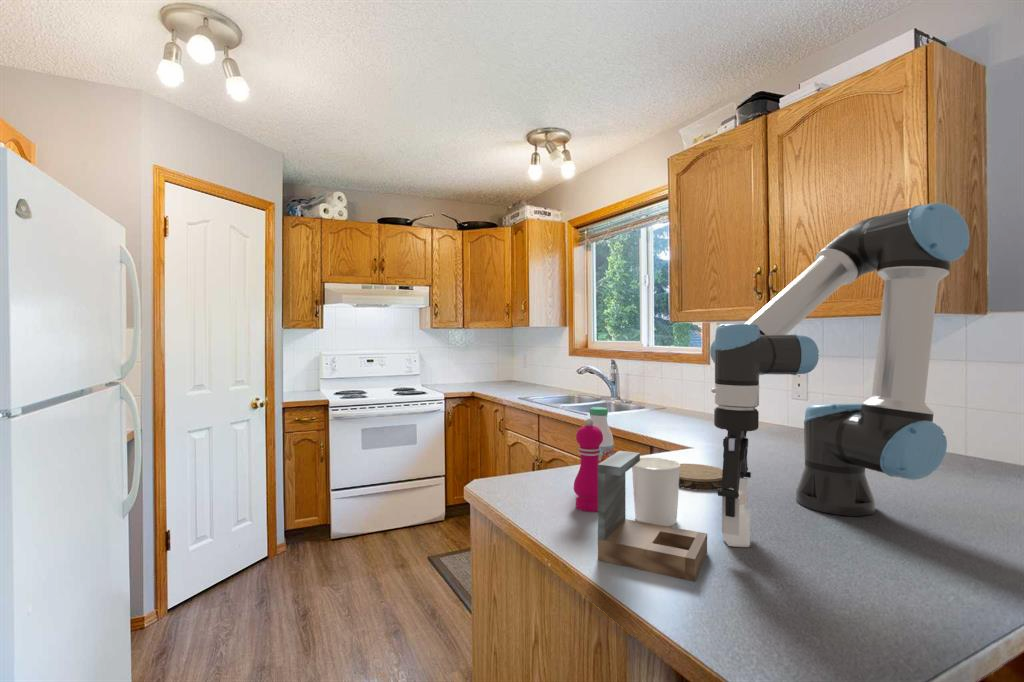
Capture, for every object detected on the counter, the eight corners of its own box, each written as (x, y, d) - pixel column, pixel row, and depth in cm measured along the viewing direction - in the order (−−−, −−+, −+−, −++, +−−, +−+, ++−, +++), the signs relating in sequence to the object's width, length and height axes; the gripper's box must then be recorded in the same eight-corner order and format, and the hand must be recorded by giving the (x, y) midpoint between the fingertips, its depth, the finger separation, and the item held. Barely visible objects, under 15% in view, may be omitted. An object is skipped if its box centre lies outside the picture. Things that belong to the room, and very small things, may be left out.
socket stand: (707, 553, 91) (707, 460, 91) (695, 581, 81) (695, 476, 80) (619, 536, 99) (619, 450, 99) (597, 559, 88) (597, 464, 88)
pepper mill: (605, 513, 111) (605, 421, 111) (572, 511, 113) (572, 420, 113) (606, 502, 118) (606, 416, 118) (574, 501, 120) (574, 415, 120)
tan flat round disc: (663, 488, 131) (663, 476, 131) (663, 472, 146) (663, 461, 146) (731, 493, 126) (731, 481, 126) (724, 476, 141) (724, 465, 141)
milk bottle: (580, 487, 130) (580, 409, 130) (587, 479, 137) (587, 405, 137) (610, 491, 127) (610, 410, 127) (616, 482, 134) (616, 406, 134)
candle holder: (673, 532, 101) (673, 471, 100) (625, 523, 106) (625, 465, 106) (685, 517, 109) (685, 461, 109) (640, 509, 114) (640, 455, 114)
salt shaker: (743, 539, 97) (743, 489, 97) (751, 548, 93) (751, 496, 93) (721, 539, 97) (721, 489, 97) (728, 547, 93) (728, 495, 93)
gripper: (723, 398, 108) (722, 499, 108) (703, 414, 86) (702, 540, 86) (763, 401, 104) (761, 505, 104) (752, 417, 82) (751, 549, 82)
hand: (734, 521), depth 95 cm, fingers open, 13 cm apart
